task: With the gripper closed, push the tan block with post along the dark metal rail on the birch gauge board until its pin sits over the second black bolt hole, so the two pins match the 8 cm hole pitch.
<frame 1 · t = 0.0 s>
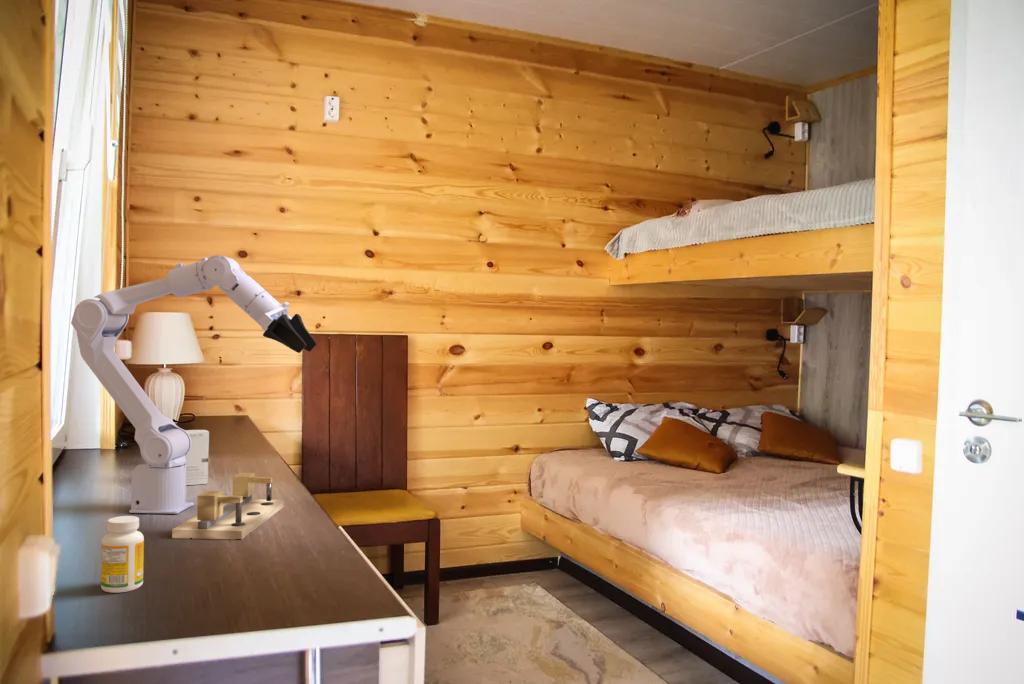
hand: (308, 348, 156), 32 cm above the table, tool tilted 50°, fingers open, 7 cm apart
skincare box: (192, 484, 182), on the table
gauge board: (232, 521, 149), on the table
supplement bottle: (122, 588, 112), on the table
tan block with post: (253, 487, 158), point 5 cm above the table, slide at 9.0 cm
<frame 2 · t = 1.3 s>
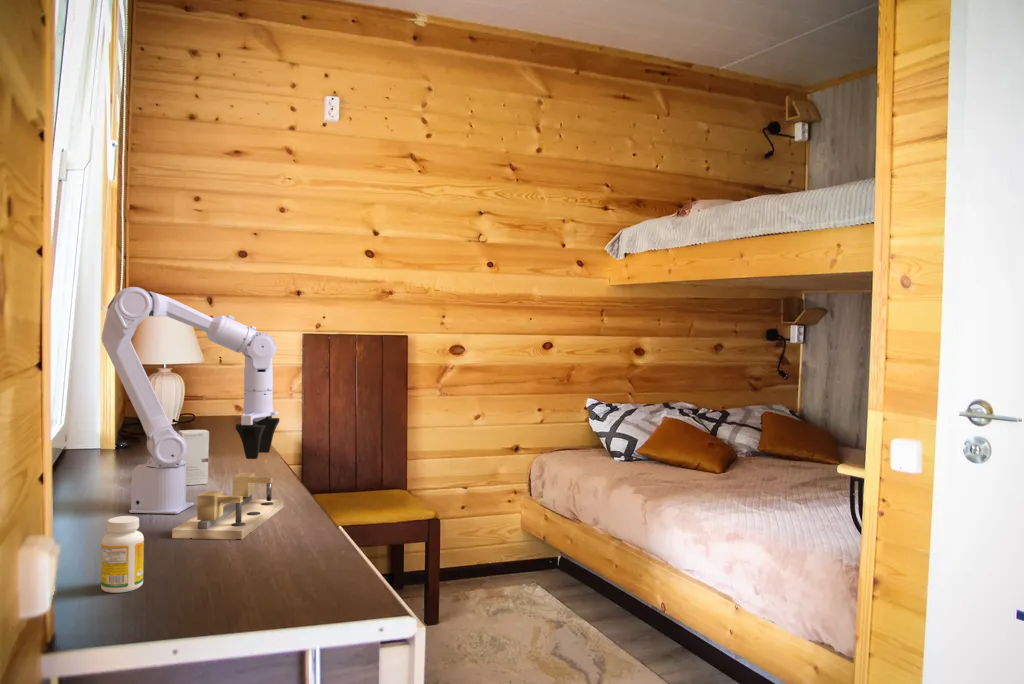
hand: (258, 455, 166), 9 cm above the table, tool pointing down, fingers open, 7 cm apart
nothing on the table moved.
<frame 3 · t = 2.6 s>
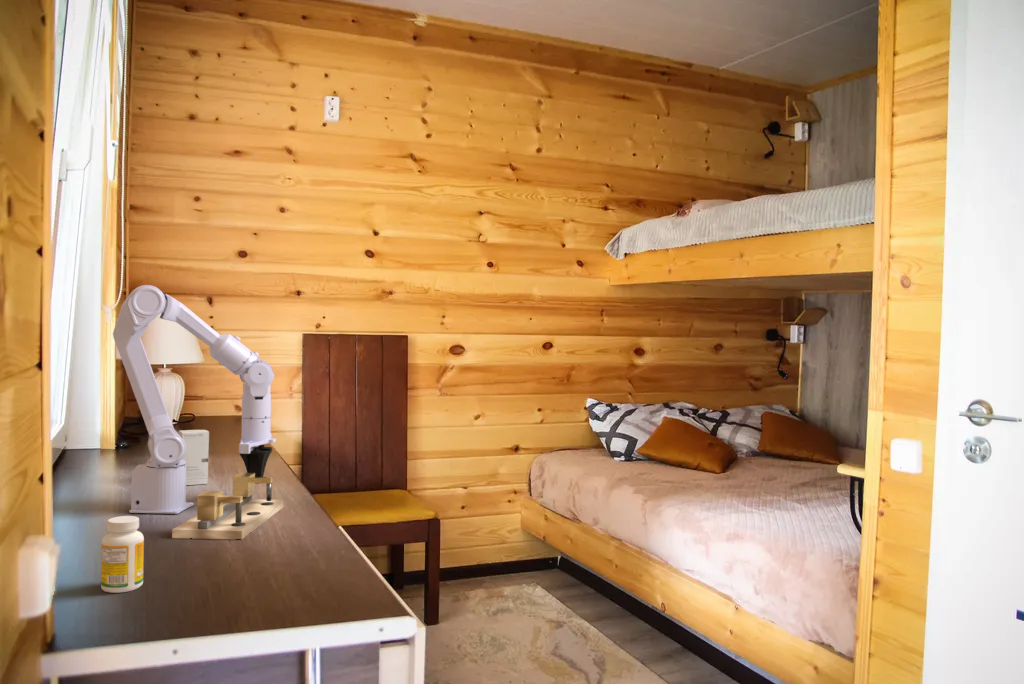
hand: (255, 483, 165), 4 cm above the table, tool pointing down, fingers closed
nothing on the table moved.
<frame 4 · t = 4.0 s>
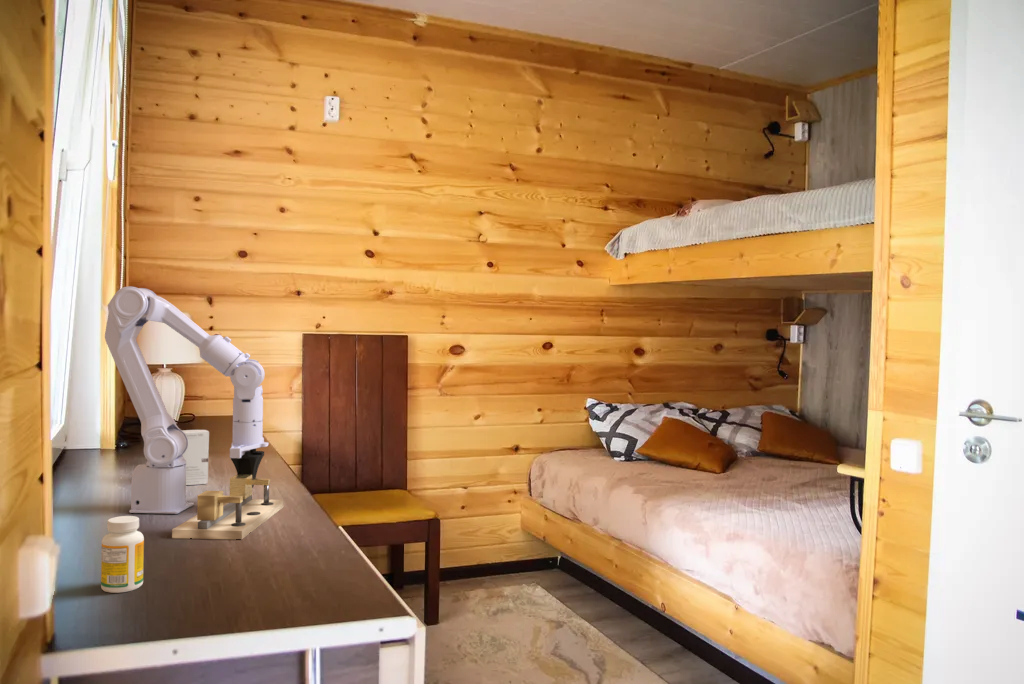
hand: (247, 488, 160), 4 cm above the table, tool pointing down, fingers closed
tan block with post: (251, 489, 156), point 5 cm above the table, slide at 7.4 cm, touching gripper
everything else where it was.
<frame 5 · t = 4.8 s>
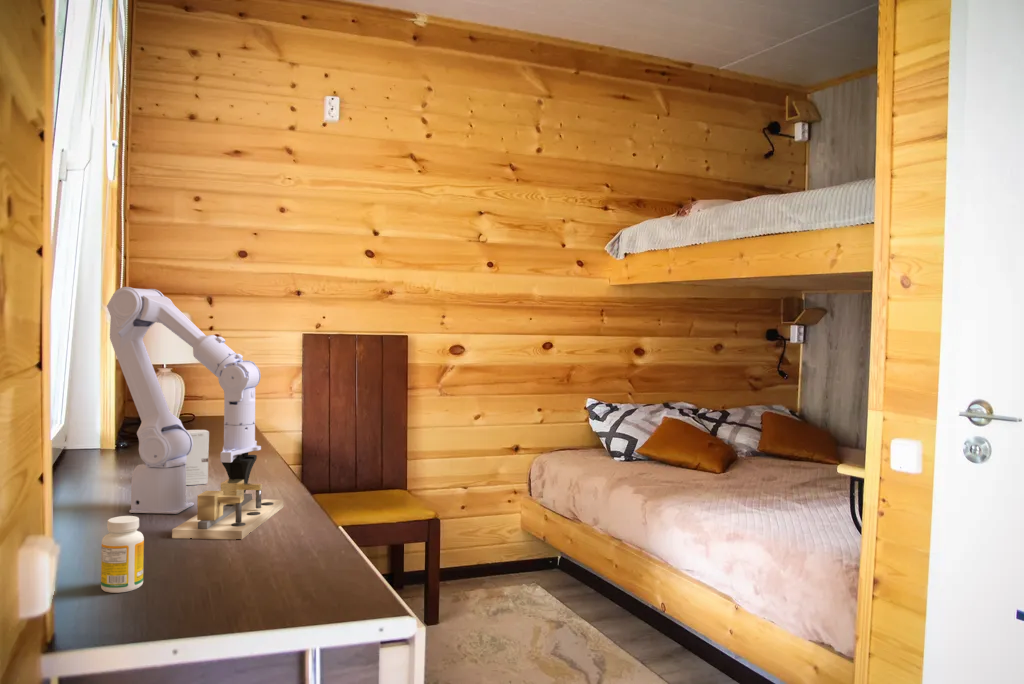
hand: (238, 493, 155), 4 cm above the table, tool pointing down, fingers closed
tan block with post: (242, 494, 151), point 4 cm above the table, slide at 2.7 cm, touching gripper
everything else where it was.
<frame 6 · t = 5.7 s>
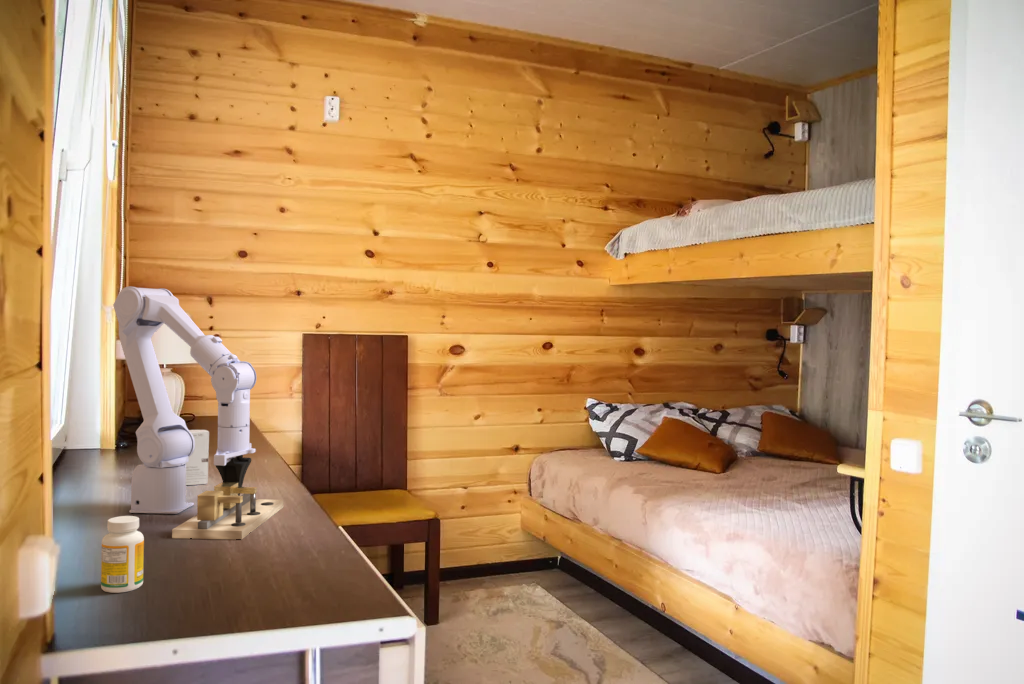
hand: (233, 496, 152), 4 cm above the table, tool pointing down, fingers closed
tan block with post: (236, 498, 148), point 5 cm above the table, slide at -0.4 cm, touching gripper
everything else where it was.
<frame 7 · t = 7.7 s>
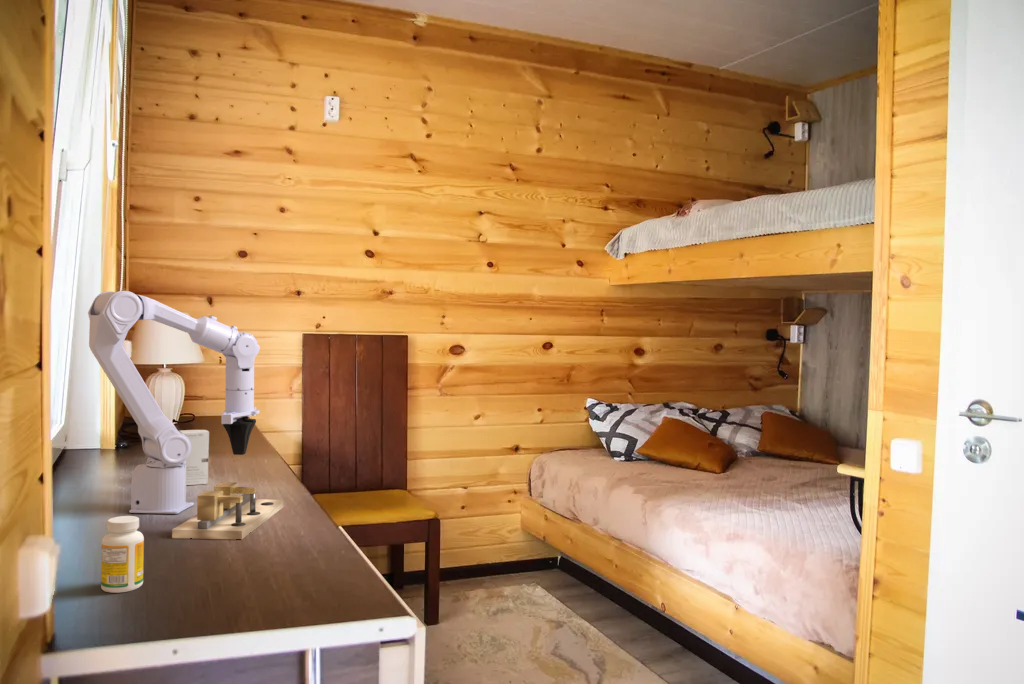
hand: (239, 454, 167), 9 cm above the table, tool pointing down, fingers closed
tan block with post: (236, 498, 148), point 5 cm above the table, slide at -0.5 cm
everything else where it was.
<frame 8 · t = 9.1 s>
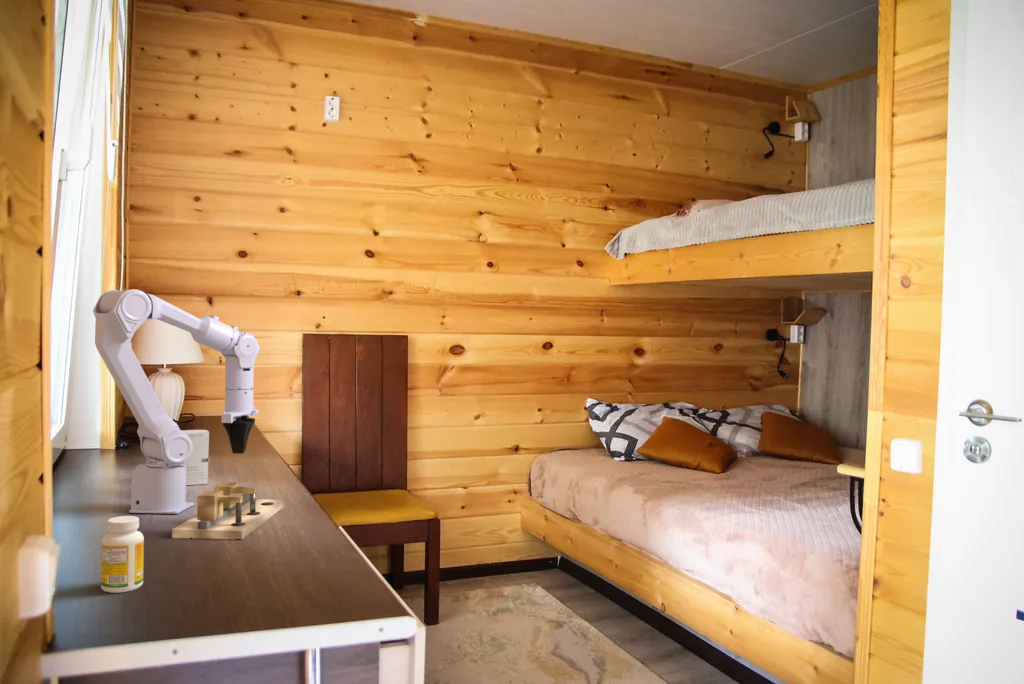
hand: (238, 453, 169), 9 cm above the table, tool pointing down, fingers closed
nothing on the table moved.
at the end: tan block with post slide at -0.5 cm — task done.
